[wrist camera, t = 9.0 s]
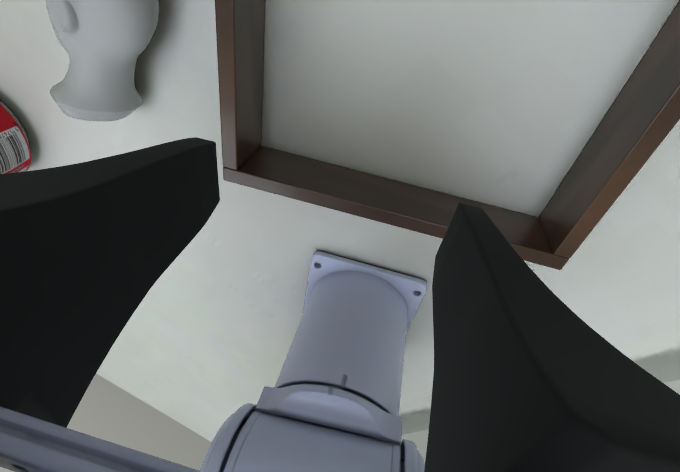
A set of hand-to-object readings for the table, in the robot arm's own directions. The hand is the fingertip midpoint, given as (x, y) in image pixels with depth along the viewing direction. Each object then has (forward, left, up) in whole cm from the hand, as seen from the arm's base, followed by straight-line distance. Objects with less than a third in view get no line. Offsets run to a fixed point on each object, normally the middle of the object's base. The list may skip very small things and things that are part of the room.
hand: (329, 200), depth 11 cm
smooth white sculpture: (+1, +14, -10) cm, 17 cm away
